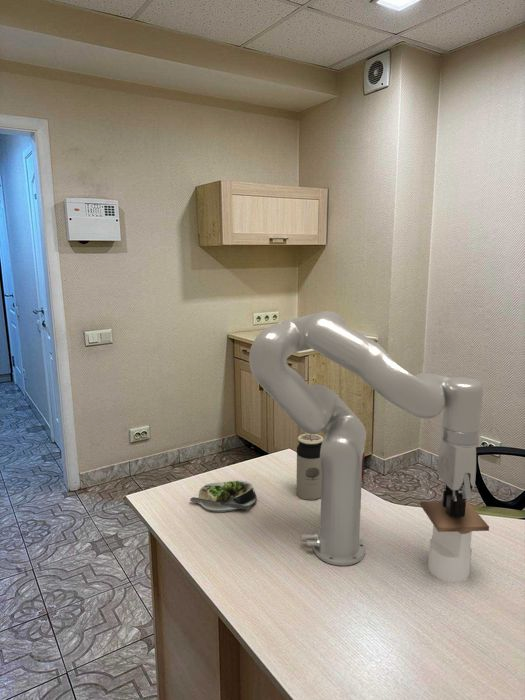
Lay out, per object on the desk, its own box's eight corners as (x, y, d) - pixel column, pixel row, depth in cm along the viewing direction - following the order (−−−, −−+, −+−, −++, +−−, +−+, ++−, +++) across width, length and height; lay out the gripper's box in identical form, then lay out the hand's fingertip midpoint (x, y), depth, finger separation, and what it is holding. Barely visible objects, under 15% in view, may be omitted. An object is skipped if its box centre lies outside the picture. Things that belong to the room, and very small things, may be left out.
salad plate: (190, 520, 136) (190, 504, 135) (189, 489, 153) (189, 475, 152) (260, 513, 139) (260, 498, 138) (251, 484, 156) (251, 470, 155)
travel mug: (297, 486, 153) (297, 432, 149) (323, 488, 152) (324, 433, 148) (295, 499, 145) (296, 442, 142) (322, 501, 144) (323, 443, 141)
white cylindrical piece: (419, 563, 117) (422, 517, 114) (449, 553, 120) (452, 508, 117) (447, 587, 108) (451, 538, 106) (478, 576, 112) (483, 528, 109)
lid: (438, 531, 106) (440, 510, 105) (420, 505, 117) (421, 485, 116) (488, 530, 106) (490, 509, 105) (466, 504, 117) (468, 485, 116)
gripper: (429, 421, 115) (424, 493, 119) (458, 450, 99) (451, 532, 103) (461, 421, 115) (455, 493, 119) (495, 449, 99) (486, 532, 103)
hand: (453, 510), depth 111 cm, fingers closed on lid, 3 cm apart
